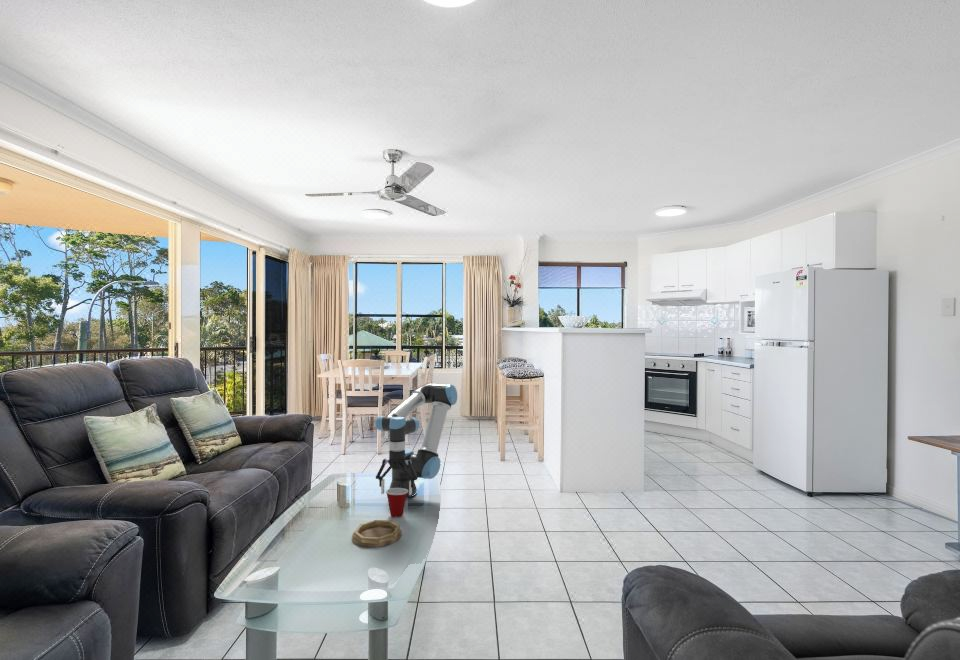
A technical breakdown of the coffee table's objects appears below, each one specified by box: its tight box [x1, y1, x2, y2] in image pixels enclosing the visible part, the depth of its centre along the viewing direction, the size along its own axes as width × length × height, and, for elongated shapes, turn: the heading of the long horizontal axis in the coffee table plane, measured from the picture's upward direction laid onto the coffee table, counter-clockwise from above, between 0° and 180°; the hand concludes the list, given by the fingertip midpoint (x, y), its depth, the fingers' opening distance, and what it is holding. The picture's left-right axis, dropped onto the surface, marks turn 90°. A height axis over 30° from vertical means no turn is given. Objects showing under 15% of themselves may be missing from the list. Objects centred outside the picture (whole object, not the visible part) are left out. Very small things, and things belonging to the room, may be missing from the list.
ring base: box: [351, 519, 403, 548], centre depth 193 cm, size 21×21×3 cm
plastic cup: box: [385, 488, 408, 518], centre depth 216 cm, size 11×11×12 cm
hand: (396, 493), depth 215 cm, fingers open, 13 cm apart
